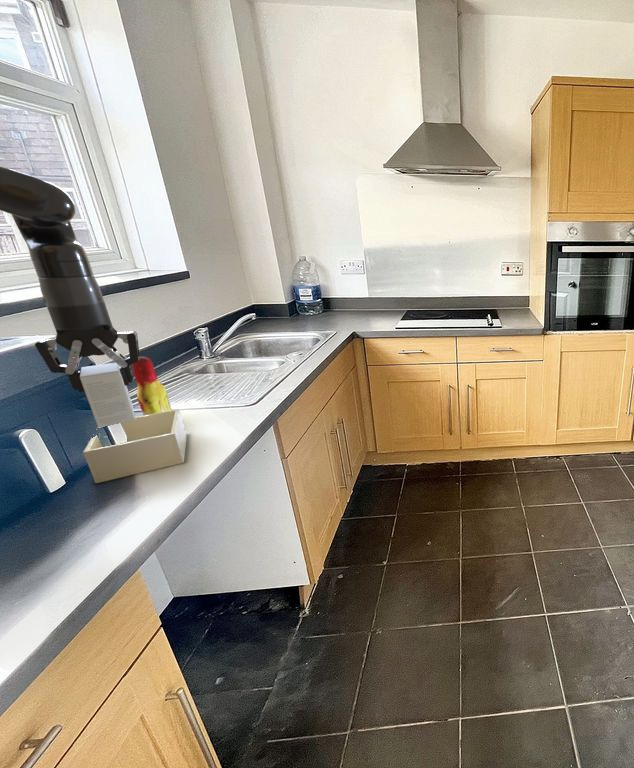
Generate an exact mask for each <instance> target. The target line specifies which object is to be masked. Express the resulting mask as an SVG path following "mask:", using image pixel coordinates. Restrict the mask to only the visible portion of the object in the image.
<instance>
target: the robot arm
mask: <svg viewBox="0 0 634 768" xmlns="http://www.w3.org/2000/svg"><path fill="white" fill-rule="evenodd" d="M0 211H1V212H4V213H7V214H10V215H11V216H12V218H13V221H14V223H15V225H16V227H17V229H18V231H19V233H20V235H21V236H22V238H23V241H24V242H25V243H26V246H27V249H28V253H29V256H30V259H31V262H32V265H33V267H34V270H35V273H36V276H37V277H38V278H37V279H38V283H39V288H40V292H41V296H42V300H43V302H44V304H45V306H46V308H47V311H48V314H49V316H50V319H51V322H52V324H53V327H54V329H55V332H56V336H55V337H54V338H49V339H40V340H38V341H37V342H35V343H34V346H35V348H36V350H37V351H38V353H39V355H40V357H42V360H43V361H44V363H45V365H46V366H47V367H48V369H49V371H50V372H51V373H53V374H57V373H58V374H64V375H65V374H66V375H67V377H68V379H69V382H70V384H71V387H72V389H73V390H75V391H78V393H85V391H84V388H83V386H82V383H81V380H80V372H81V370H79V366H80V363H81V360H82V359H83V358H88V357H91V356H92V357H93V356H107V357H108V358H109V359H110V360H112V361H113V362H114V363H117V364H118V365H119V366H120V368H119V369H120V372H121V375H122V378H123V381H124V384H125V386H127V387H128V386H131V384H132V383H133V382H134V380H135V376H134V373H133V369H132V367H131V365H132V364H133V363H137V362H138V361H139V359H140V357H141V354H140V345H139V338H138V333H137V331H135V330H130V331H129V332H128V331H127V332H126V331H124V332H123V331H122V332H121V331H119V332H118V331H117V330H116V329H115V328H114V326H113V324H112V321H111V318H110V315H109V311H108V309H107V305H106V301H105V300H104V295H103V293H102V290H101V288H100V285H99V283H98V282H97V280H96V277H95V275H94V271H93V268H92V266H91V263H90V260H89V257H88V254H87V252H86V250H85V249H84V247H83V245H81V244H80V243H79V242H78V240H77V237H76V234H75V231H74V228H73V226H72V223H71V221H72V220H73V218H74V217H75V214H76V205H75V203H74V200H73V199H72V198H71V197H70V195H69V194H68V193H67V192H66V191H65V190H63V189H62V188H61V187H59V186H57V185H55V184H54V183H51V182H49V181H46V180H43V179H40V178H39V177H35V176H32V175H29V174H26V173H22V172H20V171H16V170H13V169H10V168H5V167H4V166H0ZM118 339H121V340H122V342H123V343H124V344H127V346H128V355H129V356H128V357H126V356H125V355H124V354H123V353H122V351H120V350H119V348H117V347H116V346H115V344H116V342H117V341H118ZM57 345H59V346H61V347H62V348H64V349H65V350H67V351H69V354H68V358H67V361H66V364H63V363H62V361H61V360H60V358H59V356H58V355H57V353H56V350H57Z"/></svg>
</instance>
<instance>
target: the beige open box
mask: <svg viewBox="0 0 634 768" xmlns="http://www.w3.org/2000/svg"><path fill="white" fill-rule="evenodd" d="M122 425H123V427H124V430H125V432H126V434H127V442H125V443H120V444H115V445H110V446H105V447H102V445H101V443H100V440H99V438H98V436H97V435H96V436H95V437H93V438H92V437H91V438H90V440H89V441H88V443H87V445H86V447H85V448H84V450H83V451H82V452H83V456H84V458H85V461H86V463H87V466H88V468H89V471H90V473H91V475H92V478H93V481H94V483H95V484H99V483H104V482H108V481H113V480H116V479H120V478H125V477H129V476H133V475H137V474H142V473H145V472H150V471H154V470H159V469H162V468H166V467H171V466H175V465H179V464H183V463H184V462H185V455H186V448H187V447H186V445H187V439H188V438H187V437H188V434H187V431H186V427H185V423H184V421H183V417H182V414H181V410H180V408H177V409H171V411H166V412H160V413H155V414H149V415H144V416H143V415H138V416H135V420H133V421H129V422H124V423H122Z"/></svg>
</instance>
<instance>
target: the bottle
mask: <svg viewBox="0 0 634 768" xmlns="http://www.w3.org/2000/svg"><path fill="white" fill-rule="evenodd" d="M131 365H132V373H133V376H134V380H135V382H136V384H137V392H136V400H137V402H138V405H139V408H140V411H141V413H142V416H144V415H149V414H155V413H160V412H166V411H171V410H172V407H171V406H172V405H171V403H170V399H169V395H168V392H167V389H166V387H165V386H164V385H163V384H162V383H161V382H160V381H159V378H158V376H157V372H156V369H155V367H154V364H153V362H152V360H151V359H150V358H148V357H147V356H140V359H139V361H138V362H137V363H133V364H131Z"/></svg>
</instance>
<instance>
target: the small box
mask: <svg viewBox="0 0 634 768" xmlns="http://www.w3.org/2000/svg"><path fill="white" fill-rule="evenodd" d="M119 368H120V366H119V365H118V364H117V363H116V362H110V363H109V362H108V363H104V364H103V363H101V364H96V365H87V366H81V368H80V371H81V372H80V380H81V383H82V386H83V388H84V391H85V392H84V393H85V396H86V399H87V401H88V405H89V406H90V410H91V412H92V414H93V418H94V420H95V422H96V426H97V428H101V427H105V426H110V425H114V424H119V423H124V422H129V421H133V420H135V417H136V416H135V410H134V409H135V408H134V406H133V402H132V399H131V396H130V393H129V392H130V391H129V389H128V386H125V384H124V381H123V378H122V375H121V372H120V369H119Z"/></svg>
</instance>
